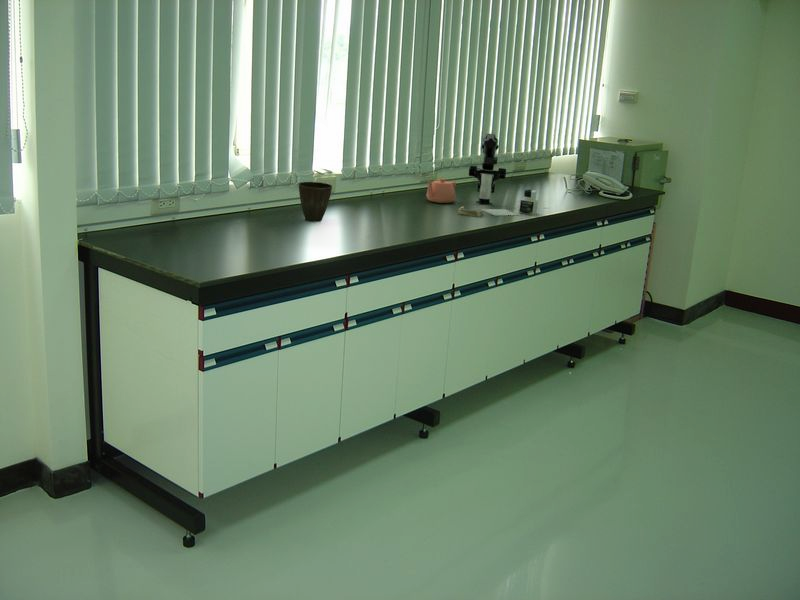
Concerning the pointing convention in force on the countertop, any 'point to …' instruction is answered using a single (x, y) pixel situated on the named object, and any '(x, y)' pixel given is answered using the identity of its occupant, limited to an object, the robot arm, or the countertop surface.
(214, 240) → the countertop surface
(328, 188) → the plant pot
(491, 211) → the mat
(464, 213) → the holder
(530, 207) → the medicine bottle
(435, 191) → the teapot
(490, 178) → the pale grey rounded piece
